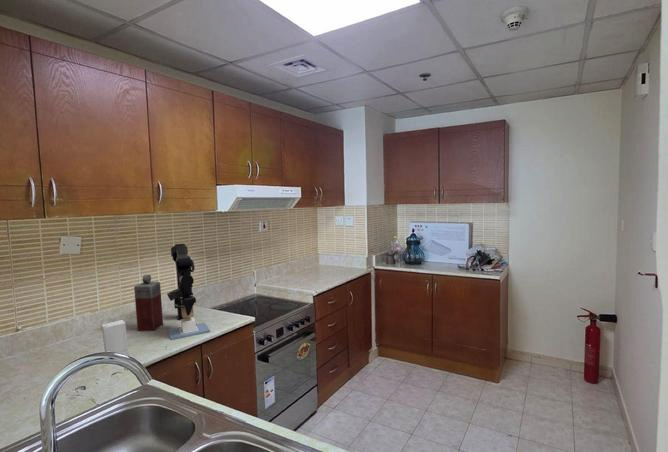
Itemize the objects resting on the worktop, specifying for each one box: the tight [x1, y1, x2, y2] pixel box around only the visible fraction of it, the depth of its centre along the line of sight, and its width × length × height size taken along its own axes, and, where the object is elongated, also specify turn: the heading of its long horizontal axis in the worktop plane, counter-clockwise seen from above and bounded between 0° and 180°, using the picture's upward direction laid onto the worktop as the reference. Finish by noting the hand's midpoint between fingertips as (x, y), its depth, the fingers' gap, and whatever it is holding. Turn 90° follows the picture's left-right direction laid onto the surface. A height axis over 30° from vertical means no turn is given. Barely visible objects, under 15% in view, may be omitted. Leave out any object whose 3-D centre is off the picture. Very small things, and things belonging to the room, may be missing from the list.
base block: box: [180, 317, 197, 333], centre depth 185 cm, size 6×6×5 cm
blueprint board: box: [167, 322, 211, 341], centre depth 185 cm, size 14×18×1 cm
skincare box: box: [101, 319, 129, 356], centre depth 157 cm, size 8×6×15 cm
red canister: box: [133, 274, 164, 332], centre depth 192 cm, size 9×11×28 cm
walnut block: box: [181, 306, 195, 319], centre depth 184 cm, size 5×5×5 cm
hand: (187, 313), depth 184 cm, fingers closed on walnut block, 5 cm apart
